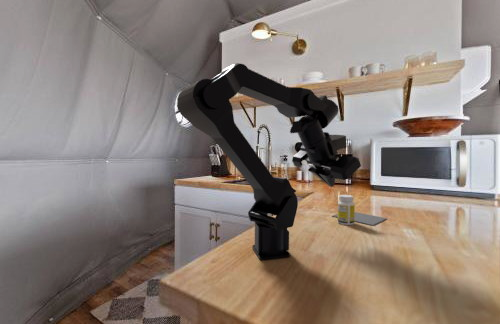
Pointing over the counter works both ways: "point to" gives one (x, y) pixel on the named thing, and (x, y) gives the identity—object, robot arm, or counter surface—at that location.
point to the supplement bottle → (346, 210)
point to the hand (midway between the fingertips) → (332, 185)
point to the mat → (366, 219)
